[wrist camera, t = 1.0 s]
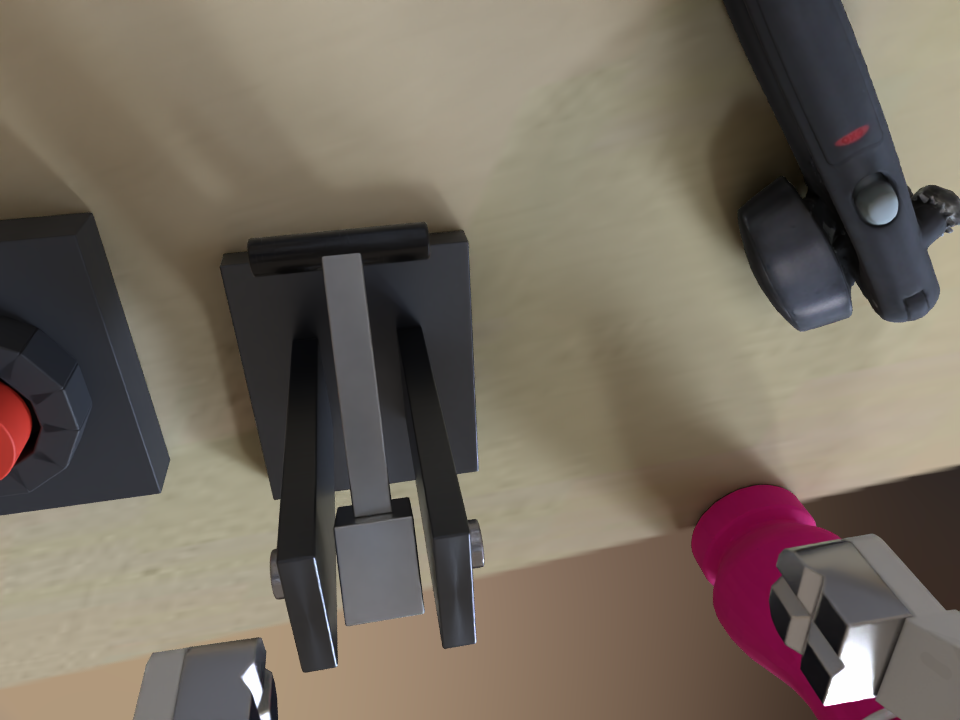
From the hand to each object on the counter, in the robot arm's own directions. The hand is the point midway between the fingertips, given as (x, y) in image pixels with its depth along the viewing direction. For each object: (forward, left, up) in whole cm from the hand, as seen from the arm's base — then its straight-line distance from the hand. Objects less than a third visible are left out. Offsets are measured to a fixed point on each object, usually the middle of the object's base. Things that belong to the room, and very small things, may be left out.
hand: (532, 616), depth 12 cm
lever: (+4, -2, -11) cm, 12 cm away
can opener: (-2, +14, -20) cm, 24 cm away
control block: (+5, -16, -19) cm, 25 cm away
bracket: (+7, -3, -19) cm, 21 cm away
